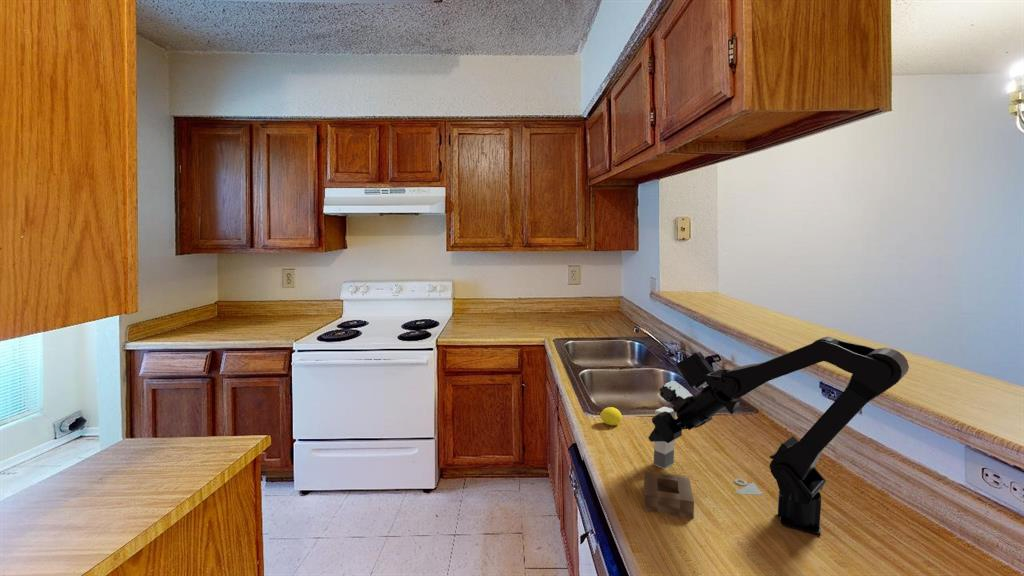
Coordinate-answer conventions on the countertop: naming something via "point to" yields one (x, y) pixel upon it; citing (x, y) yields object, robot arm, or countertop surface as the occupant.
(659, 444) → the rail post
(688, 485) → the post base
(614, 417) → the lemon
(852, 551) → the countertop surface
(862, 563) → the countertop surface
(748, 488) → the grey triangular pendant
